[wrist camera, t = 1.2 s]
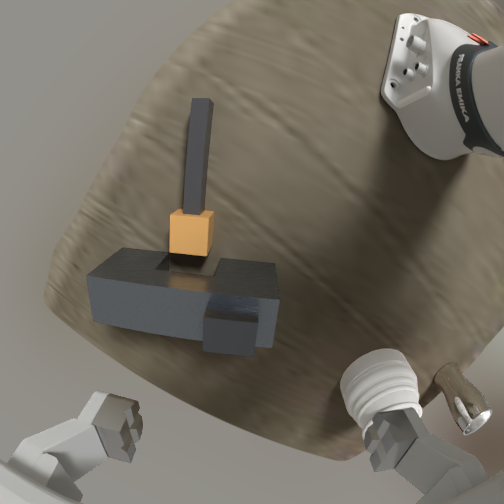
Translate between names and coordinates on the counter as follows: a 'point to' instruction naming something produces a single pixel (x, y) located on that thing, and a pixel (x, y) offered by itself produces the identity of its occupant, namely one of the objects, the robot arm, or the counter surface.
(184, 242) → the plug
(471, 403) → the beer glass
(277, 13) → the counter surface
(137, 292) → the grey block
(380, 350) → the honey pot
